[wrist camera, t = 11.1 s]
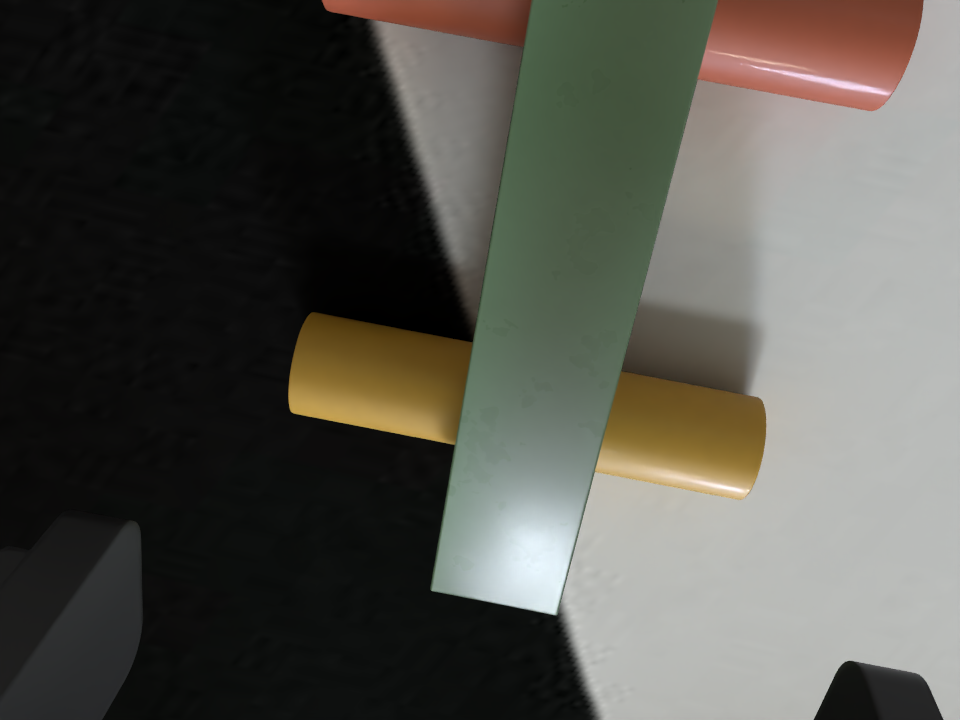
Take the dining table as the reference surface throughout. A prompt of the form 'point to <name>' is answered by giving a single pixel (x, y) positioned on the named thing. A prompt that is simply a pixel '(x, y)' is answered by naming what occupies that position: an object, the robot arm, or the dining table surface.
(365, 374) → the ochre rod
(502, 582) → the green bar
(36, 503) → the dining table surface
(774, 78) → the terracotta rod
